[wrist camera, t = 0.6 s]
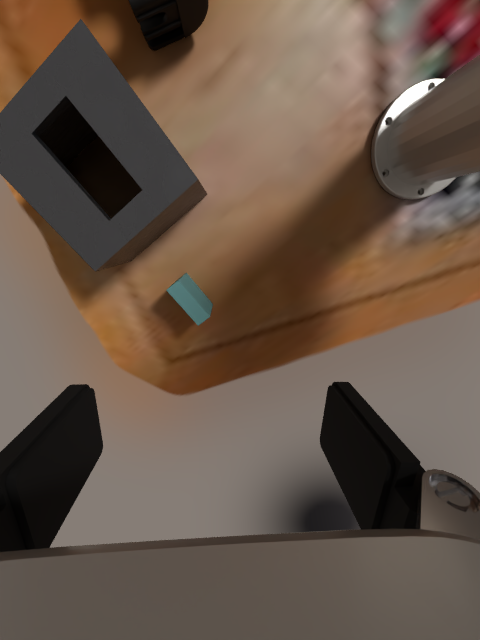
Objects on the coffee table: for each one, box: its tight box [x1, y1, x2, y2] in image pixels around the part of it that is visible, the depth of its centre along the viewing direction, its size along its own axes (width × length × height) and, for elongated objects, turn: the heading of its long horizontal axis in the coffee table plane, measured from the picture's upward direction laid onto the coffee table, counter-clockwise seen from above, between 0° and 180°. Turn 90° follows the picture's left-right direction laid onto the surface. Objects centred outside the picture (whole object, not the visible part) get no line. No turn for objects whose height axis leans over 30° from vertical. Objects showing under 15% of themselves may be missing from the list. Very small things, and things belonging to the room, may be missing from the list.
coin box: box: [0, 19, 207, 271], centre depth 28 cm, size 14×14×10 cm
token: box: [167, 273, 213, 326], centre depth 35 cm, size 2×6×6 cm, turn 38°
